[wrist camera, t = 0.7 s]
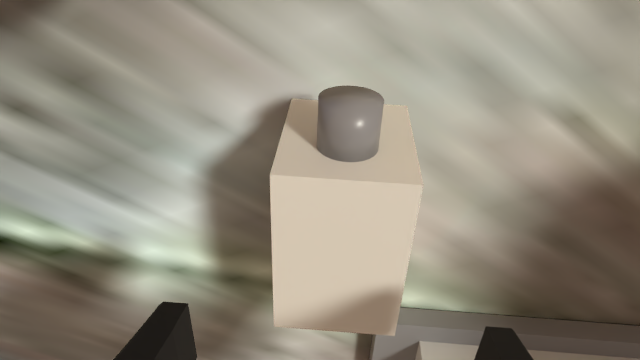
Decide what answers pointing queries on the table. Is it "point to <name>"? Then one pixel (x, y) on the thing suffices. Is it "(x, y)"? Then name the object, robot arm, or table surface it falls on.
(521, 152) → the table surface
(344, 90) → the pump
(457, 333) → the stepped base plate
